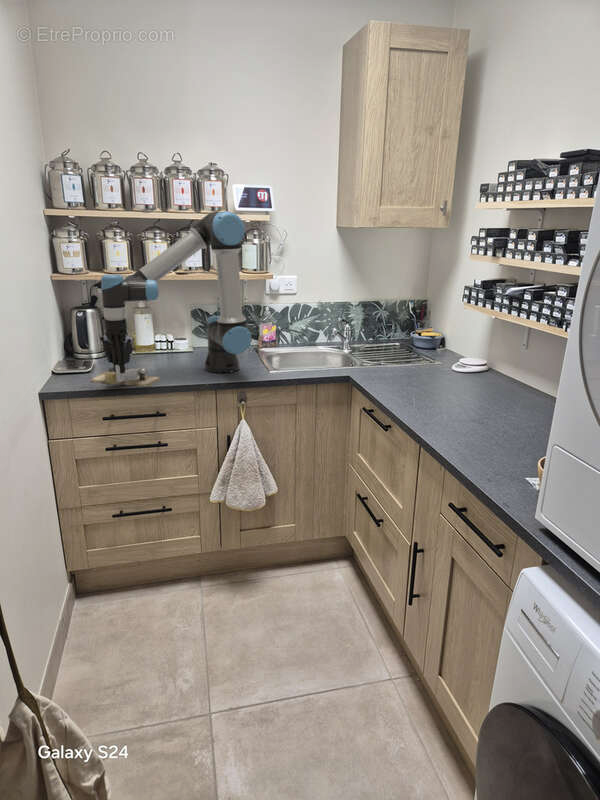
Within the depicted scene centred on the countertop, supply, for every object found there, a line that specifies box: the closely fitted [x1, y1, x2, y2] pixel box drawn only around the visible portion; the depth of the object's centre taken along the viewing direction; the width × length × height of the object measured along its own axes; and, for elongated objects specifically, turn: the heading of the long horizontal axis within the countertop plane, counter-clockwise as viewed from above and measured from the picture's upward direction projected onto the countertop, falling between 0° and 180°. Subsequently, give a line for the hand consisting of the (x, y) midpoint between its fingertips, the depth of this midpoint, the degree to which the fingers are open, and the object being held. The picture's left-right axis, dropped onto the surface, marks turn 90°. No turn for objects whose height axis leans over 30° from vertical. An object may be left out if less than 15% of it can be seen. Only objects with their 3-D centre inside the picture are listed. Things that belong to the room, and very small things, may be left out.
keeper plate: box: [89, 366, 128, 386], centre depth 214 cm, size 14×12×4 cm
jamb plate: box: [124, 373, 161, 388], centre depth 212 cm, size 10×10×4 cm
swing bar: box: [105, 366, 149, 385], centre depth 208 cm, size 16×4×4 cm, turn 130°
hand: (120, 381), depth 203 cm, fingers closed
